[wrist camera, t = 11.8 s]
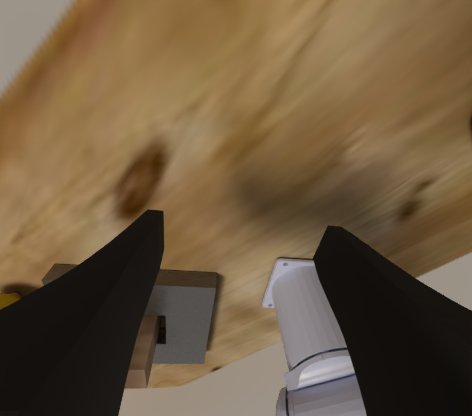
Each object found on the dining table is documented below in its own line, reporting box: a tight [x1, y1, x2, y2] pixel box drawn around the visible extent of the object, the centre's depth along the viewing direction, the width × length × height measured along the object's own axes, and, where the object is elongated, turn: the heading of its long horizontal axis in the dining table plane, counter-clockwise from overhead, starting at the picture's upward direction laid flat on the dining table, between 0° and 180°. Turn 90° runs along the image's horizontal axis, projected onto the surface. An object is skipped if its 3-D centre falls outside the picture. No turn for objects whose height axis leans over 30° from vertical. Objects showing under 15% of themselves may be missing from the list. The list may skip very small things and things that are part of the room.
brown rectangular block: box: [125, 315, 161, 388], centre depth 25 cm, size 4×4×7 cm
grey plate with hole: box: [42, 264, 216, 364], centre depth 27 cm, size 16×16×2 cm
